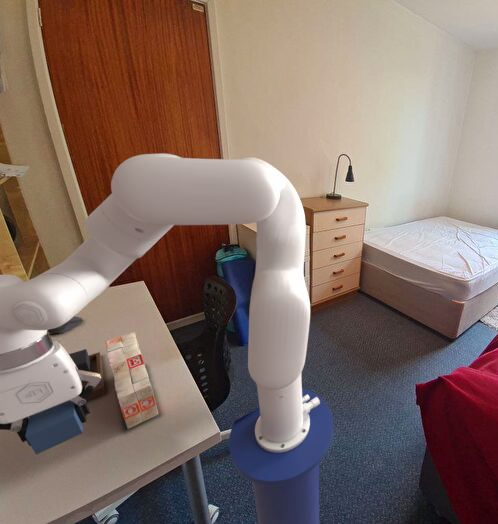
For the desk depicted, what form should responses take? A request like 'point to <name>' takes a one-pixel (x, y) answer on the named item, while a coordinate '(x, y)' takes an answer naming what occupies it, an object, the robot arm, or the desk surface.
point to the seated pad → (81, 360)
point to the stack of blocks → (131, 380)
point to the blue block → (53, 426)
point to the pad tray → (96, 368)
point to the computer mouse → (66, 325)
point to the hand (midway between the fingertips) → (60, 427)
